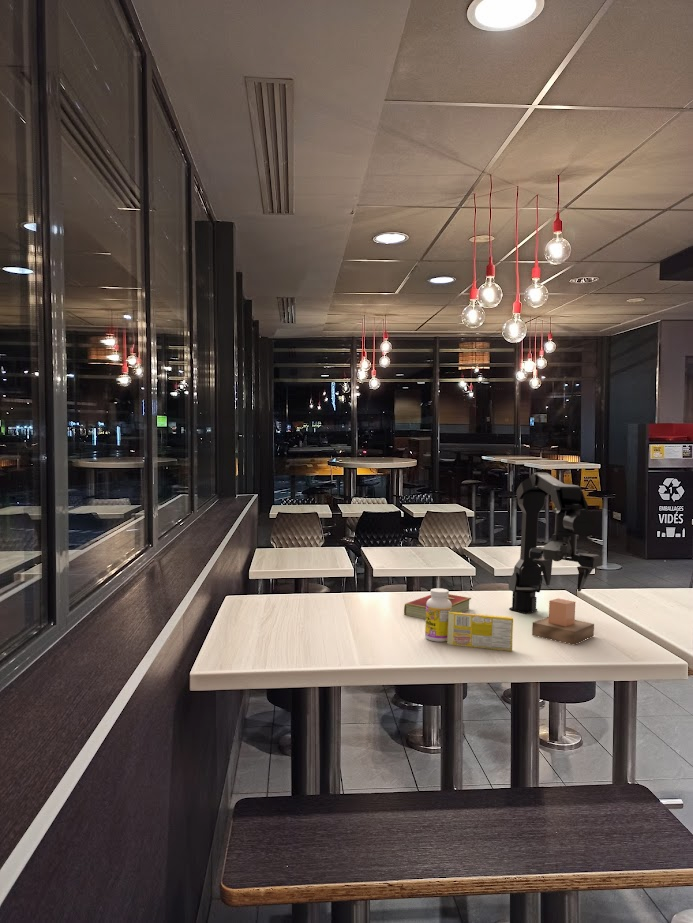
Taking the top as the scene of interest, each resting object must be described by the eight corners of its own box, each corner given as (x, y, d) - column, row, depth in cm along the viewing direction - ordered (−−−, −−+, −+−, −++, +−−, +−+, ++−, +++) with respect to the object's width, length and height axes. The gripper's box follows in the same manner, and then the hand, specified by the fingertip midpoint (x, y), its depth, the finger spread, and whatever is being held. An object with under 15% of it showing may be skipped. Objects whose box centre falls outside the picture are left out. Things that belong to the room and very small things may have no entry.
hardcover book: (403, 616, 202) (404, 602, 202) (436, 604, 219) (436, 591, 219) (439, 623, 195) (440, 609, 195) (470, 610, 212) (471, 597, 212)
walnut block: (532, 636, 185) (532, 622, 184) (552, 629, 193) (552, 615, 193) (574, 647, 176) (574, 631, 176) (593, 638, 185) (594, 623, 185)
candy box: (512, 649, 171) (513, 617, 171) (512, 652, 169) (513, 619, 168) (447, 642, 175) (449, 610, 175) (446, 644, 173) (448, 612, 173)
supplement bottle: (420, 636, 180) (422, 587, 179) (442, 634, 182) (444, 586, 182) (432, 643, 173) (434, 593, 173) (455, 641, 176) (457, 592, 175)
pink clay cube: (548, 622, 185) (549, 600, 184) (557, 619, 188) (558, 598, 188) (565, 626, 181) (566, 604, 181) (574, 623, 184) (575, 601, 184)
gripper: (519, 529, 185) (517, 585, 186) (584, 537, 172) (581, 598, 172) (540, 526, 193) (538, 581, 193) (604, 534, 180) (601, 593, 180)
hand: (563, 588), depth 185 cm, fingers open, 9 cm apart
